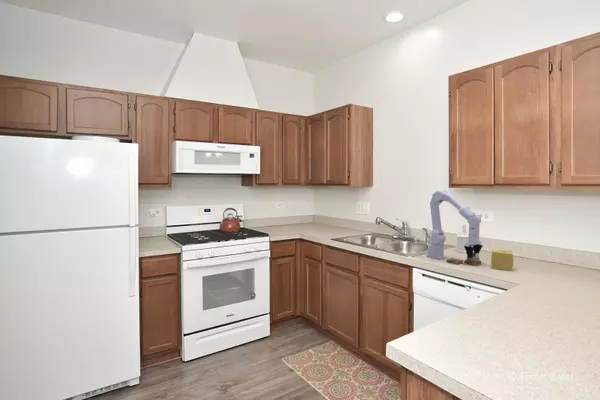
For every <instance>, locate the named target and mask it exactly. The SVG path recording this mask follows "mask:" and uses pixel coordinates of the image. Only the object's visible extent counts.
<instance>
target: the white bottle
mask: <svg viewBox="0 0 600 400" xmlns="http://www.w3.org/2000/svg"><path fill="white" fill-rule="evenodd" d="M460 229H462V232H459V230H460ZM466 229H467V225H466V224H465V223H463V224H462V227H459V228H458V229H457V233H459V234H457V235H456V249H455V251H456V252H457V253H461V252H462V253H463V254H467V253H466V250H465V248H464V246H465V245H466V243H467V242H468V238H469V232H467V230H466Z"/></svg>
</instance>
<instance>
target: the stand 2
mask: <svg viewBox="0 0 600 400" xmlns="http://www.w3.org/2000/svg"><path fill="white" fill-rule="evenodd" d="M464 264H466V265H471V266H479V265H482V260H480V261H478V262H475V261H470V260H467V258H466V259H464Z"/></svg>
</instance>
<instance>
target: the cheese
mask: <svg viewBox="0 0 600 400" xmlns="http://www.w3.org/2000/svg"><path fill="white" fill-rule="evenodd" d="M490 264H491V269H494V270H500V271H501V270H504V271H509V272H510V271H513V268H514V267H513V266H514V254H513V252H512V250H506V249H497V250H495V249H492V251H491V260H490Z"/></svg>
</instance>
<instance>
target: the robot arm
mask: <svg viewBox="0 0 600 400" xmlns="http://www.w3.org/2000/svg"><path fill="white" fill-rule="evenodd" d="M431 196H432V197H431V199H430V202H429V208H430V216H431V223H432V224H431V225H432V231H431V233H430V234H431V235H430V243H428V246H427V257H428V258H432V259H437V260H441V259H447V256H445V252H444V251H445V250H444V249H445V245H444V244H445V242H446V235H445V233H444V230H443V228H442V222H441V213H440V205H441V204H442V203H443V202H448V203H449V204H450V205H452V206H453V207H455V209H457V210H458V213H459V214H460V216H462V217H463V218H464V219H465V220H466V221H467V223H468V233H469V234H468V235H469V238H468V242H467V243H466V245H465V246H464V248H465V250H466V253H465V254H466V255H467V256H466V258H467V257H468V258H472V253H473V252H476V253H479V254H480V252H481V250H482V248H483V245H482V241H481V240H480V226H481V225H480V223H481V222H482V218H481V217H480V215H478V214H476V213H475V212H473V211H472V210H471V209H470V207H469V206H464V205H462V204H461V203H460V202H459V201H458V200H457V199H456V198H455V197H454V196H453V195H452V194H451V193H449V192H448V191H447V190H436V191H434V193H432V195H431Z"/></svg>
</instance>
